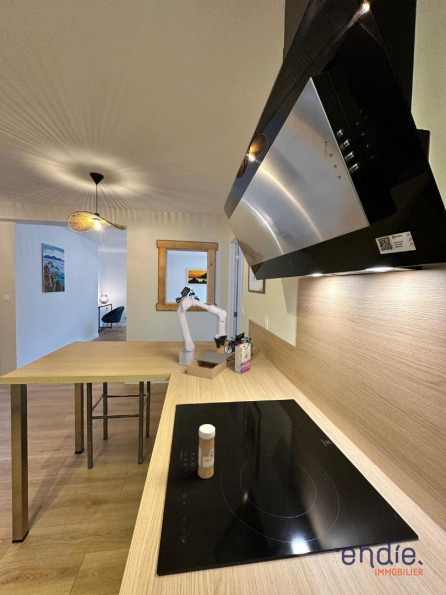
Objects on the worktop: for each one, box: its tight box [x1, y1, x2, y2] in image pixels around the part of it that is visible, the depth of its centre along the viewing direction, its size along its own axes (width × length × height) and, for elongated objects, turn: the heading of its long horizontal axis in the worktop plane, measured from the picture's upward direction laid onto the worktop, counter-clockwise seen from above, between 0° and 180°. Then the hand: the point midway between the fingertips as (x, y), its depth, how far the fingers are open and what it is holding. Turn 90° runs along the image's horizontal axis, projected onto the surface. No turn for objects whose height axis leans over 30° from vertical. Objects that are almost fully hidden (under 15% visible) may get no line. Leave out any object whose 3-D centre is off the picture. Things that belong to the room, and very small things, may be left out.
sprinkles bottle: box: [197, 423, 216, 479], centre depth 72 cm, size 5×5×13 cm
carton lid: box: [194, 346, 234, 364], centre depth 164 cm, size 17×23×4 cm
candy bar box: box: [234, 342, 252, 375], centre depth 157 cm, size 11×5×16 cm, turn 143°
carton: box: [186, 358, 228, 380], centre depth 155 cm, size 16×22×6 cm
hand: (220, 346), depth 173 cm, fingers open, 7 cm apart
